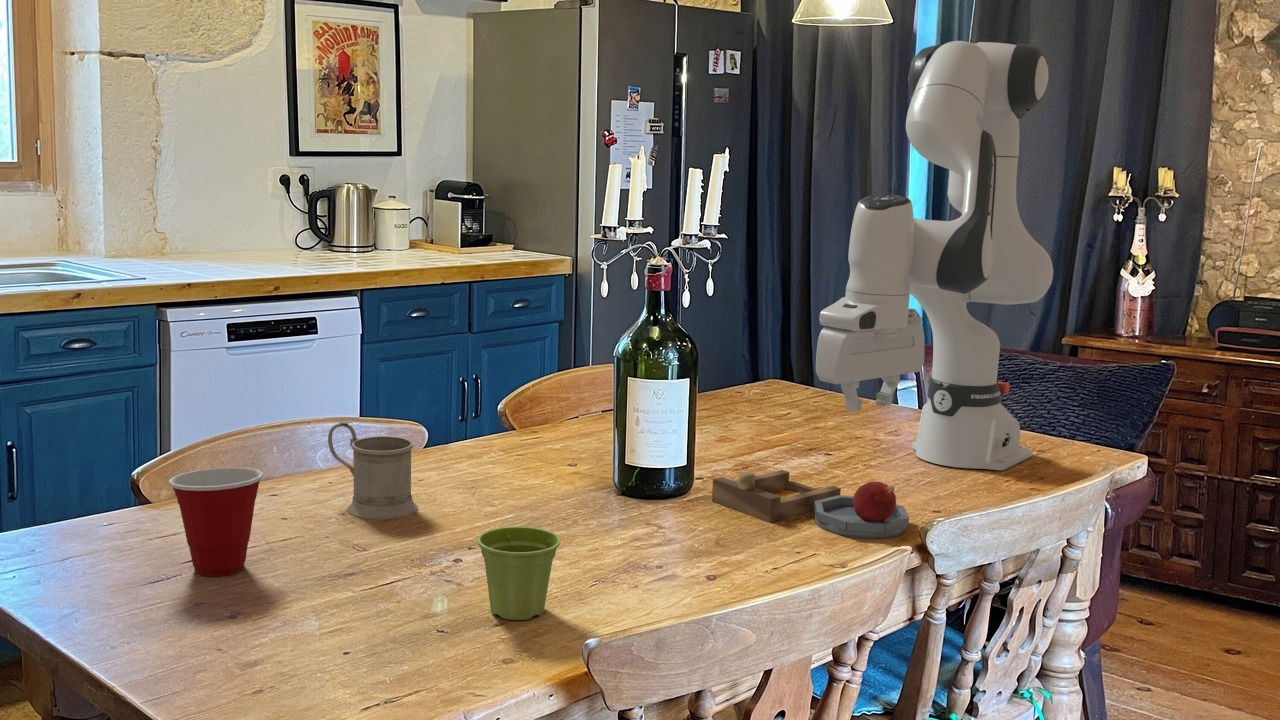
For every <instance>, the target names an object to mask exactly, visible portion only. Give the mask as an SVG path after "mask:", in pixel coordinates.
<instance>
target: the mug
mask: <svg viewBox="0 0 1280 720" xmlns="http://www.w3.org/2000/svg"><path fill="white" fill-rule="evenodd" d="M353 422H354V421H353V420H349V419H345V420H338V421H337V423H335V424H334V425H332V426H331V428H329V432H328V435H327V443H328V448H329V451H330V453H331V455H332V456H333V458H334V459H335V460H337V461H338V462H339V463H341V464H342V465H343V466H345V468H347V469H348V470H350V471H349V472H350V473H351V474H352V477H353V496H352V502H351V503H350V504H349V505H348V506H347V507H346V509H347V510H346V512H347V513H348V514H349V515H350V516H353V517H355V518H359V519H364V520H374V521H376V520H377V521H379V520H381V521H382V520H383V521H384V520H387V521H388V520H394V519H395V520H396V519H401V518H405V517H408V516H410V515H413V514H415V513H416V512H418V505H417V504H416V502H414V501H413V495H412V449H413V448H414V443H413V441H412V440H410V439H407V438H405V437H399V436H390V435H389V436H388V435H386V436H384V435H383V436H382V435H381V436H368V437H362V438H359V437H358V438H357V434H356V431H355V429H354V427H353V426H351V425H349V424H351V423H353ZM341 427H343V428H347V429H348V431H350V433H351V437H352V438H350V439H349V441H350V443H349V445H350V447H351V450H353V466H352V465H351V464H350V463H349V462H347V461H346V460H344V459H342V458H341V457H340V456H339V455H338V453H336V451H335V448H334V444H333V433H334V432H335V430H336V429H337V428H341Z"/></svg>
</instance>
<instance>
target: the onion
mask: <svg viewBox="0 0 1280 720" xmlns="http://www.w3.org/2000/svg"><path fill="white" fill-rule="evenodd" d="M853 496H854V499H853V506H854V510H855V512H856V514H857V516H859V517H860V518H861V519H862V520H863V521H871V522H884V521H885V520H886V519H887V518H889V517H890V516H891V515H892V513H893V512H894V509H895V506H896V504H897V497H896V494H895V486H893V485H890V486H889V485H888V484H886V483H885V482H881V481H868V482H866V483H864V484H861V486H859V487H858V488H857V489H856V491H855V493H854V495H853Z"/></svg>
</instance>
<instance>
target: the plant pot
mask: <svg viewBox="0 0 1280 720" xmlns="http://www.w3.org/2000/svg"><path fill="white" fill-rule="evenodd" d="M476 543H477V545H478V546H479V547H480V551H481V552H480V553H481V556H482V557H483V560H484V567H485V573H486V580H487V581H486V582H487V583H486V584H487V589H488V599H489V607H490V612H491V614H493V615H498V616H499V617H500V618H502V619H505V620H510V621H525V620H530V619H532V618H533V617H535V616H541V615H543V614H544V611H545V607H546V600H547V595H548V588H549V583H550V577H551V573H552V572H551V571H552V566H553V561H554V560H553V559H554V558H555V556H556V554H557V553H556V552H557V548H559V546H560V545H561V537H560V536H559V535H558V534H557V533H555V532H553V531H550V530H547V529H543V528H538V527H531V526H506V527H505V526H504V527H499V528H493V529H489V530H485V531H484V532H481V533H480V534H479V535H478V536H477V542H476Z"/></svg>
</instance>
